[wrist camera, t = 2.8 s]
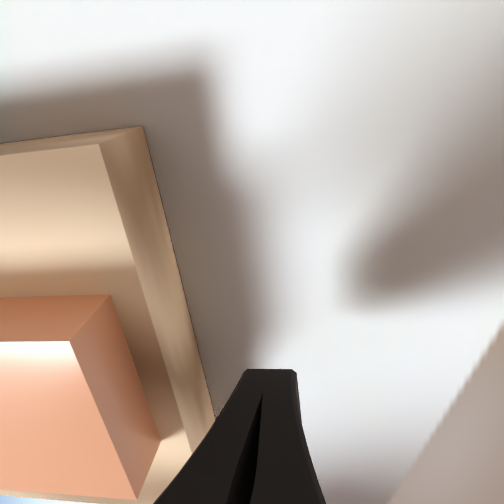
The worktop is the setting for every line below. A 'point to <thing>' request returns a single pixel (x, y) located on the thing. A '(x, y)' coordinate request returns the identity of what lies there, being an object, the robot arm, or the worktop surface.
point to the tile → (71, 400)
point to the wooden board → (107, 272)
